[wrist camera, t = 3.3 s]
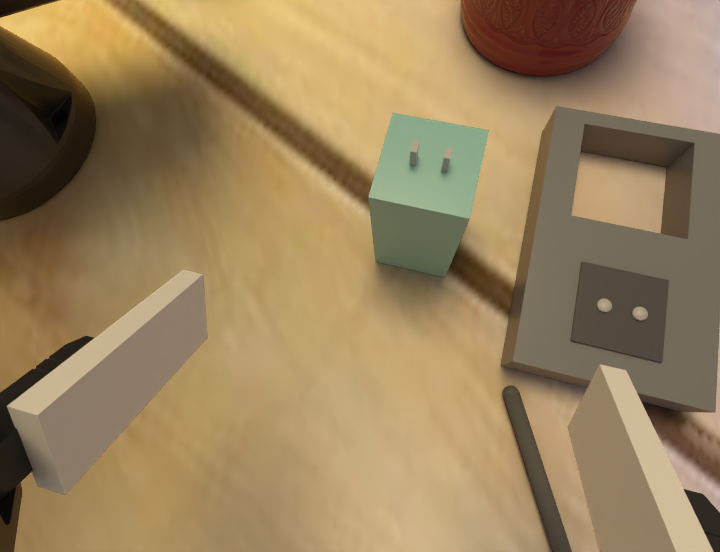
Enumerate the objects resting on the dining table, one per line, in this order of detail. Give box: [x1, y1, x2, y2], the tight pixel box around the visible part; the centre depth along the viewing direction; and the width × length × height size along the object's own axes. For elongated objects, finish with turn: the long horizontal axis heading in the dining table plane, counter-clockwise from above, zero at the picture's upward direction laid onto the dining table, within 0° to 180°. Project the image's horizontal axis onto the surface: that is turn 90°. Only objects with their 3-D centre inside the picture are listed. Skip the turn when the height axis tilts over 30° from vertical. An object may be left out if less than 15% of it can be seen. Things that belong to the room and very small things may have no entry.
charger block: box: [368, 113, 489, 277], centre depth 26 cm, size 5×5×11 cm
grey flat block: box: [501, 106, 720, 412], centre depth 28 cm, size 18×11×3 cm, turn 165°
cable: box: [503, 386, 572, 552], centre depth 26 cm, size 11×1×1 cm, turn 13°
